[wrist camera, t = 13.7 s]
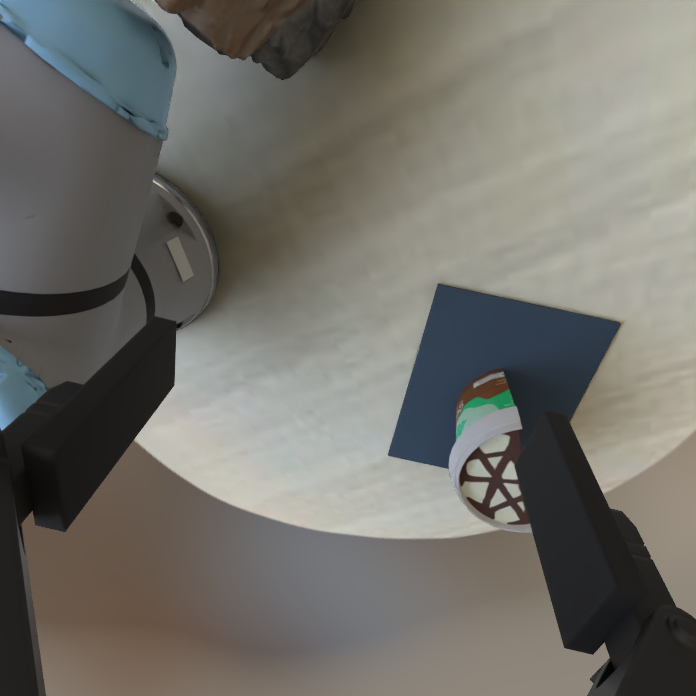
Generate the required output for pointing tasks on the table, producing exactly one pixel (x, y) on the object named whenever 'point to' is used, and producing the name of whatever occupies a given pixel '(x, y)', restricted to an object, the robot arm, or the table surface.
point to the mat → (495, 365)
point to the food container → (489, 453)
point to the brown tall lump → (263, 28)
